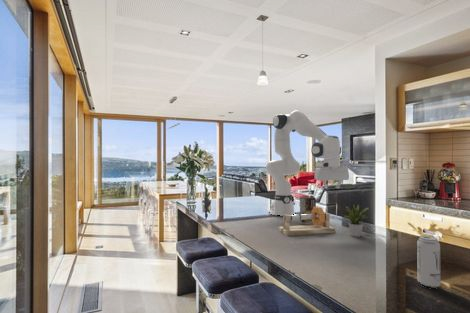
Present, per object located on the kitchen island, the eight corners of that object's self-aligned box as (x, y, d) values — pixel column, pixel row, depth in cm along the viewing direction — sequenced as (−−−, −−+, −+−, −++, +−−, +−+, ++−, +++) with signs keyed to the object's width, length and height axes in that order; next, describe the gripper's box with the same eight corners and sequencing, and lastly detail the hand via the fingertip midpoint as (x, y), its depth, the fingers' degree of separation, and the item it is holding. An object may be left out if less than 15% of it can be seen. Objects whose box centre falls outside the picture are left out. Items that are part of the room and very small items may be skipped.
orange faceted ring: (311, 223, 163) (311, 205, 163) (315, 223, 163) (315, 205, 163) (320, 227, 153) (320, 208, 153) (324, 227, 154) (324, 208, 154)
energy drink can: (436, 291, 86) (435, 241, 86) (414, 284, 90) (413, 237, 91) (443, 286, 89) (443, 238, 89) (422, 279, 94) (421, 234, 94)
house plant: (375, 240, 139) (375, 207, 139) (345, 238, 141) (345, 206, 141) (368, 233, 153) (368, 202, 153) (341, 231, 155) (340, 201, 155)
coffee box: (314, 222, 178) (314, 196, 178) (316, 224, 172) (316, 198, 172) (299, 222, 179) (299, 196, 179) (301, 224, 173) (300, 197, 173)
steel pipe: (283, 220, 155) (283, 214, 155) (325, 217, 161) (325, 212, 161) (285, 221, 152) (285, 215, 152) (329, 219, 158) (329, 213, 158)
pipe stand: (278, 230, 159) (278, 213, 159) (323, 227, 166) (323, 210, 166) (287, 235, 147) (287, 217, 147) (335, 232, 154) (335, 214, 154)
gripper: (344, 163, 166) (344, 187, 166) (313, 163, 161) (313, 188, 161) (351, 163, 160) (351, 188, 160) (318, 164, 155) (319, 189, 155)
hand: (332, 188), depth 160 cm, fingers open, 6 cm apart
